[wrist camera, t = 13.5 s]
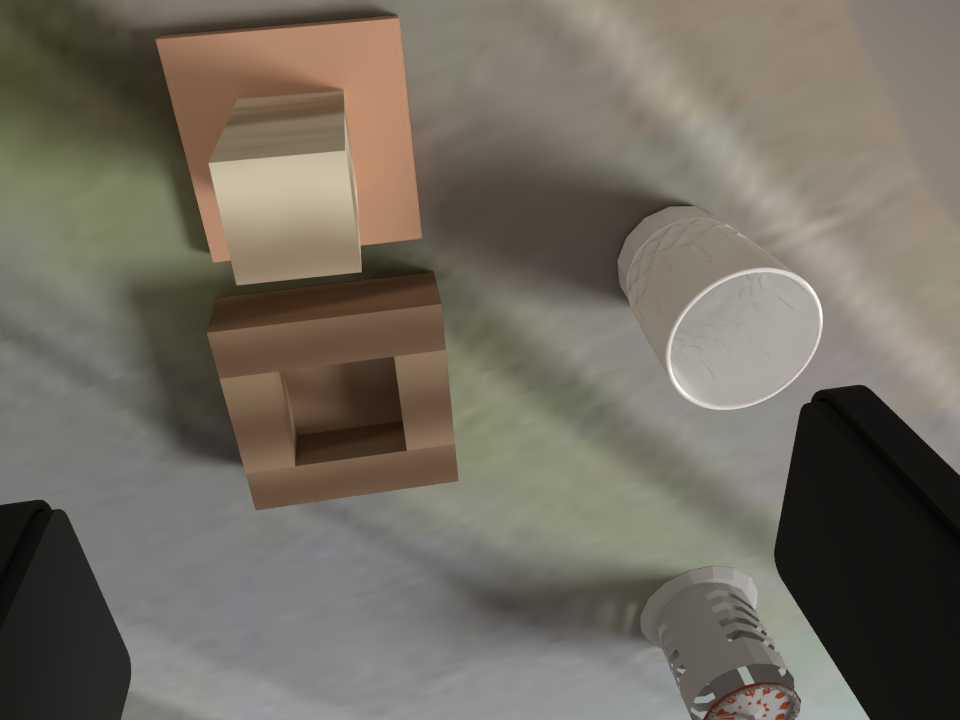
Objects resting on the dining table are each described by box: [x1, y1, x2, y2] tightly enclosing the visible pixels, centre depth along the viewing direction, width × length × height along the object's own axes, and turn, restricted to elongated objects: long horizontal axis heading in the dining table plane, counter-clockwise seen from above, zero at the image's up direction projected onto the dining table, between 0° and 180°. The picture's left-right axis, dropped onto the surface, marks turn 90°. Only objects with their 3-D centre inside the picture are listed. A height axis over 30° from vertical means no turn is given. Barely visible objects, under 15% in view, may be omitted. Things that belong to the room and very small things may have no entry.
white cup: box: [617, 206, 823, 410], centre depth 43 cm, size 8×8×10 cm
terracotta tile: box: [156, 15, 422, 262], centre depth 40 cm, size 11×11×1 cm
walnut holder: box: [207, 272, 458, 510], centre depth 46 cm, size 12×12×4 cm
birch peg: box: [209, 90, 362, 285], centre depth 35 cm, size 5×5×10 cm
